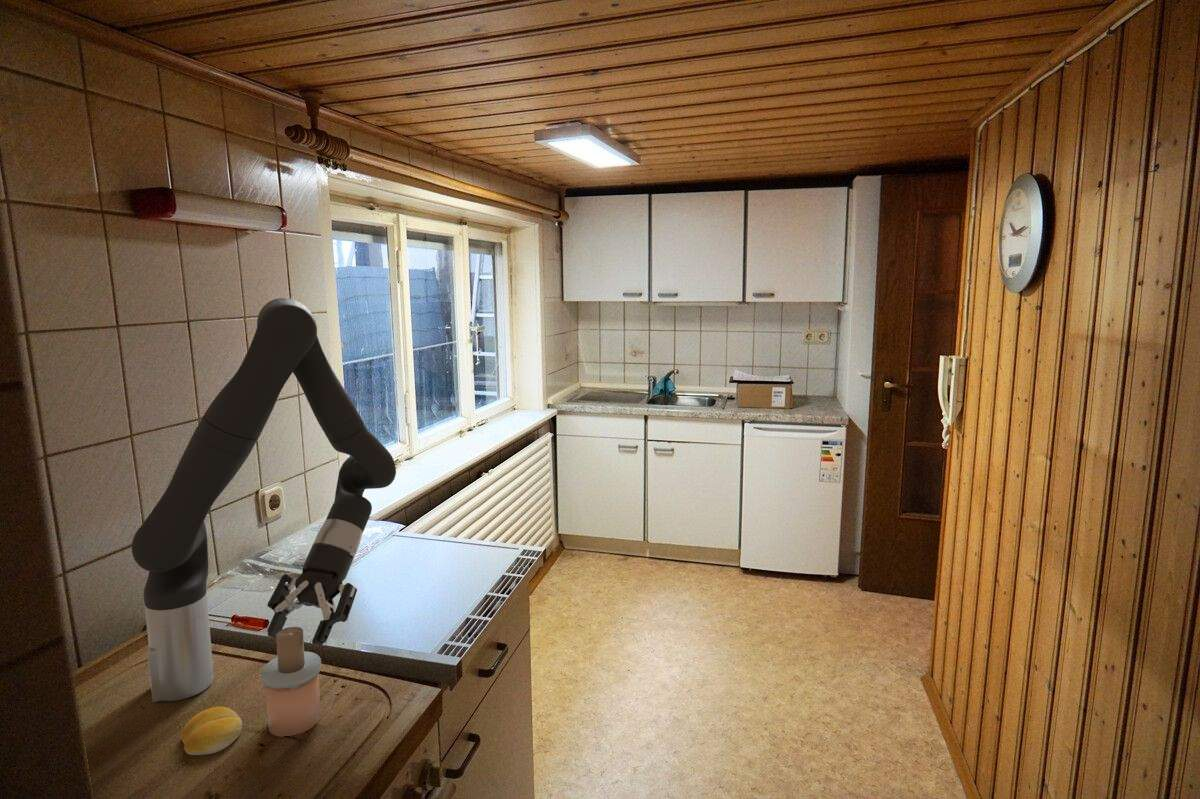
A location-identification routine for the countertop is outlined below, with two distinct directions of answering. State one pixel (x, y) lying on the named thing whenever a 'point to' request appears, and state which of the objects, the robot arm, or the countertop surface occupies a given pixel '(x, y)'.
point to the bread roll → (211, 731)
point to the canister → (293, 708)
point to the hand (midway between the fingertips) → (294, 641)
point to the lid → (290, 661)
